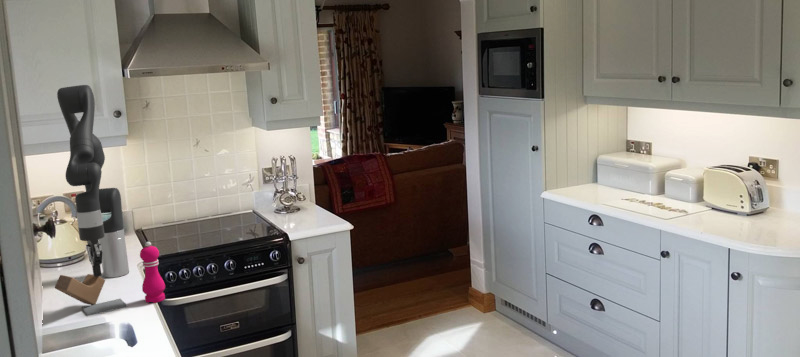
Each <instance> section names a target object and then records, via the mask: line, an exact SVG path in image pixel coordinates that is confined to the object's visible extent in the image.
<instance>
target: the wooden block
mask: <svg viewBox="0 0 800 357" xmlns="http://www.w3.org/2000/svg"><path fill="white" fill-rule="evenodd" d="M105 282H106V279H104V278H103V277H101V276H98V277H95V276H94V275H93V274H91V273H87V274H86V276H85V278H84V280H83V281H82V282H81V281H79V280H78V279H76V278H74V277H72V276H68V275H65V274H64V275H63V274H60V275H59V277H58V279H57V282H56V283H55V286H54V289H55V290H58V291H59V292H62V293H63V294H65V295H67V296H69V297H71V298H73V299H75V300H77V301H79V302H80V303H83V304H86V305H88V306H90V305H94V304H97V303H98V300H99V296H100V294H101V292H102V290H103V287H104V284H105Z"/></svg>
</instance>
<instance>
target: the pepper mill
mask: <svg viewBox="0 0 800 357" xmlns="http://www.w3.org/2000/svg"><path fill="white" fill-rule="evenodd" d="M139 257H140V259H141V260H142V267H144V271H145V274H144V279H143V282H142V288H141V289H142V290H141V291H142V293H144V294H145V296H144V301H146V302H145V303H147V302H148V303H147V304H150V303H149V302H153V303H152V304H156V303H161V302H163V301H165V299H166V295H165V294H166V293H165V292H164V291H165V289H166V284H165V281H164V280H163V277H162V276H161V274H160V272H159V269H158V266H159V264H160V263H159V259H158V258H159V257H160V251H159V249H158V248H157V247H156V246H154V245H152V242H150V241H146V242H145V246H144V247H143V248H142V249H140V252H139Z"/></svg>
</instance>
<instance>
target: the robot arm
mask: <svg viewBox="0 0 800 357" xmlns="http://www.w3.org/2000/svg"><path fill="white" fill-rule="evenodd" d="M56 97H57V101H58V102H57V103H58V105H59V109H60V111H61V114H62V115H63V119H64V121H65V123H66V127H67V129H68V132H69V136H70V137H69V151H70V152H69V155H70V156H69V161H68V164H67V166H66V170H65V180H66V182H67V184H68V185H69V186H72V187H80V186H84V188H85V191H83V192H80V193H77V194H76V195H75V198H74V199H75V206H76V207H75V208H76V222H77V228H78V235H79V240H80V241H82V242H86V244H85V250H86V252H87V257H88V261H89V263H90V265H91V268H92V275H94V276H95V277H98V276H99V277H101V276H102V275H103V277H104V278H118V277H122V276H125V275H128V274H129V273H130V266H129V260H128V259H129V258H128V254H127V253H128V252H127V245H126V244H127V243H126V235H125V228H124V220H123V219H124V218H123V210H122V209H123V208H122V207H123V206H122V197H121V196H122V195H121V193H120V190H119V188H118V187H108V188H100V185H101V178H102V168H103V167H104V164H105V160H106V155H105V152H104V148H103V145H102V142H101V141H100V139H99V137H97V136H96V135H95V134H94V133H93V132H94V125H95V124H94V122H95V111H96V110H95V107H96V103H95V95H94V92H93V90H92V88H91V86H89V84H80V85H72V86H64V87H60V88H59V89H58V90H57V94H56ZM79 113H80V114H82V116H81V117H80V120H79V119H78V117H77V115H76V114H79ZM109 213H110V217H109V218H107V219H106V220H104V219H103V214H109ZM101 268H102V269H101ZM102 273H103V274H102Z"/></svg>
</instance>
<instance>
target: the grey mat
mask: <svg viewBox="0 0 800 357" xmlns="http://www.w3.org/2000/svg"><path fill="white" fill-rule="evenodd" d="M126 307H128V305H127V303H126V302H125V301H123V300H122V299H121V298H116V299H112V300H106V301H103V302H99V303H96V304H94V305H86V306H82V308H81V309H82V311H84V313H85V314H86V315H87V316H92V315H96V314H100V313H104V312H108V311H113V310H116V309H121V308H126Z"/></svg>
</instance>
